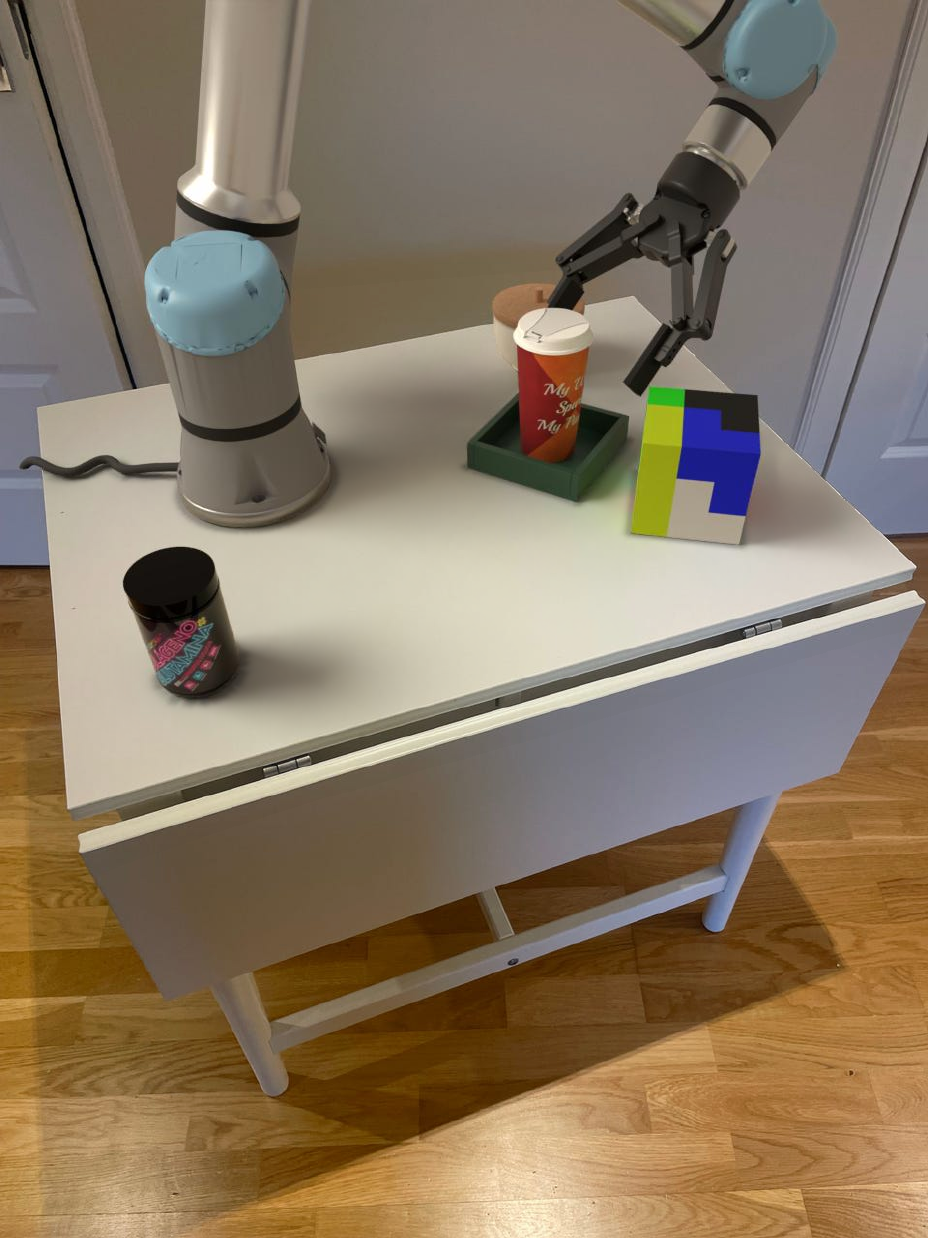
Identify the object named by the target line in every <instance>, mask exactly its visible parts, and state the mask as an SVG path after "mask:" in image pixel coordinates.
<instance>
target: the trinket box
mask: <svg viewBox="0 0 928 1238" xmlns="http://www.w3.org/2000/svg"><path fill="white" fill-rule="evenodd" d="M556 286H557V284H552V283H543V282H542V283H540V282H539V283H535V282H534V283H525V284H524V283H523V284H519V285H515V286H510V287H508V288H506V289H504V290H501V291H500V292H499V293H497V294H496V296H495V297H494V298H493V300H492V304H491V311H492V315H493V316H492V321H493V333H494V338H495V342H496V346H497V349H498V351H499V352H500V354H501V356H502V358H503V359H505V360H506V361H507V362H508V363H509V365H511V367H512V369H513V370H514V371H516V372H518V360H517V343H516V342H515V340H514V337H513V335H514V331H515V330H516V328H517V327H518V323H519V320H520V319H521V317H522V316H524V315H525V314H527V313H529V312H531V311H534V310H537V309H543V308H547V307H548V306H549V304H548V303H547V302H548V299H549V297H550V295H551V294H552V292H553V291H554V289H555V287H556ZM585 308H586V304H585V300H584V298H583V296H582V297H581V298H580V300H579V301H578V303H577V304H576V306H575V307H574V309H573V310H572V311H575V312H577V313H580V314H582V315H583V316H584V315H585Z"/></svg>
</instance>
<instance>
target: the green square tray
mask: <svg viewBox="0 0 928 1238" xmlns="http://www.w3.org/2000/svg"><path fill="white" fill-rule="evenodd" d="M629 423H630V415H627V414H624V413H620V412H616V411H612V410H608V409H606V408H602V407H597V406H594V405H590V404H586V403H583V402H581V408H580V415H579V422H578V429H577V435H576V441H575V447H574V451H573V453H572V455H571V456H570V457H569V458H567V459H565V460H563V461H560V462H555V463H549V462H545V461H542V460H539V459H535V458H532V457H529V456H526V455H525V454H524V453H523V451H522V446H521V432H520V411H519V391H518V393H516V394H515V395H514V396H513V397H512V398H511V399H510V400H509V401H508V402H507V403H506V404H505V405H504V406H503V407H502V408H500V410H499V411H497V413H496V414H494V415H493V417H491V419H490V420H489V421H488V422H486V423H485V424H484V425H483V426H482V427H481V428H480V429H479V430H478V431H477V432H476V433H475V434H474V435H473V436H472V437H471V438H470V439H469V440H468V441H467V442H466V465H467V469H470V470H473V471H475V472H479V473H482V474H486V475H488V476H493V477H496V478H498V479H502V480H505V481H508V482H512V483H514V484H518V485H521V486H524V487H527V488H531V489H534V490H537V491H539V492H542V493H547V494H550V495H553V496H556V497H559V498H562V499H566V500H569V501H572V502H575V503H578V502H579V501H580V500H581V498H582V497H583V496H584V494H585V493H586V492H587V490H588V489H589V488H590V487H591V486H592V485H593V483H594V482H595V481H596V479H598V477H599V476H600V474H601V473H602V472H603V471H604V470H605V468H607V466H608V464H610V462H611V461H612V460H613V458H614V457H615V456H616V455H617V453H618V452H619V451H620V450H621V448H622V447H623V446H624V445H625V444H626V442H627V439H628V432H629Z"/></svg>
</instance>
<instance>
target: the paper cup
mask: <svg viewBox="0 0 928 1238" xmlns="http://www.w3.org/2000/svg"><path fill="white" fill-rule="evenodd" d="M588 320H589V319H587V318H586V316H584V315H582V314H580V313H577V312H575V311H572V310H568V309H562V308H543V309H537V310H534V311H531V312H529V313H527V314H525V315H524V316H522V317H521V319H520V320H519V323H518V327H517V328H516V330H515V331H514V335H513V337H514V340H515V342H516V343H517V360H518V371H517V381H518V382H517V384H518V392H519V411H520V432H521V446H522V451H523V453H524V454H525V455H526V456H529V457H532V458H535V459H539V460H542V461H545V462H549V463H555V462H560V461H563V460H565V459H567V458H569V457H570V456H571V455H572V453H573V451H574V447H575V441H576V435H577V429H578V422H579V415H580V408H581V403H582V400H583V393H584V386H585V378H586V371H587V366H588V365H587V364H588V358H589V351H590V346H591V344H592V343H593V341H594V337H595V336H594V333H593V331H592V329H591V325H590V322H589V321H588Z"/></svg>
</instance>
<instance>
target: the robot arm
mask: <svg viewBox="0 0 928 1238" xmlns="http://www.w3.org/2000/svg"><path fill="white" fill-rule="evenodd" d="M612 1H613V2H615V3H616V4H618V5H619V6H620V7H622V8H623V9H625V10H626V11H628V12H629V13H630V14H632V15H633V16H635V17H636V18H638V19H639V20H640V21H642V22H643V23H645V24H646V25H648V26H649V27H651V28H652V29H654V30H655V31H657V32H658V33H659V34H661V35H662V36H664V37H665V38H666V39H668V40H669V41H671V42H672V43H673V44H675V45H677V46H678V47H679V48H681V49H682V50H683V51H684V52H686V54H688V56H690V57H691V59H692V60H693V61H694V62H695V63H696V64H697V65H698V66H699V67H700V68H701V70H703V72H704V73H705V75H706V76H707V78H709V80H711V81H712V82H713V83H714V84H715V85H716V86H717V90H716V92H715V93H714V95H713V97H712V99H711V100H710V101H709V103H708V105H707V106H706V108H705V110H704V111H703V113H702V114H701V116H700V117H699V119H698V121H697V122H696V124H695V125H694V126H693V128H692V129H691V131H690V132H689V134H688V135H687V137H686V138H685V139H684V141H683V143H682V144H681V150H682V151H681V152H678V153H676V154H675V155H674V157H673V158H672V160H671V161H670V163H669V165H668V166H667V168H666V169H665V171H664V172H663V174H662V175H661V177H660V179H659V180H658V182H657V184H656V190H655V194H654V196H653V198H652V199H651V200H650V201H649V202H648V203H646V204H643V203H642V202H640V201H638V199H637V198H636V197H635V196H634V195H633V193H631V192H627V193H625V194H624V195H623V196H622V198H620V200H619V201H618V203H616V205H615V207H614V208H613V209H612V210H611V211H610V212H609V213H607V214H606V215H605V216H604V217H603V218H601V219H600V220H599V221H597V222H596V223H595V224H594V225H593V226H592V227H590V228H589V229H588V230H587V231H585V232H584V233H583V234H582V235H581V236H579V237H578V238H577V239H576V240H574V241H573V242H572V243H571V244H569V245H568V246H567V247H566V248H565V249H563V250H562V251H561V252H560V253H558V254H557V256H555V260H554V261H555V263H556V265H557V266H558V267H559V269H560V270H561V272H562V276H561V279H560V280H559V281H558V283H557V284H556V285H557V286H556V287H555V289H554V291H553V292H552V294H551V295H550V297H549V299H548V302H547V303H548V304H549V306H548V307H547V308H562V309H568V310H573V309H574V307H575V306H576V304H577V303H578V301H579V300H580V298H581V297H582V298H583V295H584V294H585V289H584V284H587V283H589V282H591V281H592V280H594V279H596V278H598V277H600V276H602V275H604V274H605V273H607V272H610V271H612V270H614V269H615V268H617V267H619V266H621V265H623V264H624V263H626V262H629V261H630V260H632V259H636V260H638V259H641V258H643V257H645V259H648V260H650V261H653V262H660V263H661V264H662V265H663V266H664V267H666V268H668V269H670V286H671V291H670V292H671V320H670V319H669V320H668V323H669V324H670V325H671V326H672V327H671V326H670V325H669V324H666V323H664V322H663V323H662V324H661V325H660V327H659V328H658V330H657V331H656V332H655V335H654V336H653V337H652V339H650V341H649V343H648V345H647V346H646V347H645V349H644V350H643V352H642V353H641V355H640V356H639V358H638V359H637V361H636V362H635V363H634V365H633V367H632V368H631V369H630V371H629V373H628V374H627V375H626V377H625V378H624V380H623V381H622V383H623V384H624V385H625V386H626V387H627V388H629V390H631V391H632V393H634V394H635V395H636V396H639V398H640V397H642V395H643V394H644V393H645V391H646V390H647V388H649V385H650V384H651V383H652V381H653V379H654V378H655V376H656V375H657V373H658V372H659V370H660V369H661V368H662V367H663V368H664V369H665V368H667V367H669V365H671V364H672V363H673V361H674V359H675V358H676V356H677V355H678V353H679V352H680V350H681V349H682V348H683V346H684V344H686V342H687V341H688V340H691V339H701V341H703V342H707V341H709V340H710V339H711V338H712V337H713V333H714V330H715V325H716V320H717V315H718V311H719V305H720V301H721V297H722V293H723V287H724V282H725V278H726V275H727V274H726V272H727V270H728V269H727V268H728V266H729V264H730V262H731V260H732V259H733V256H734V255H735V253H736V251H737V249H738V245H737V243H736V241H735V240H734V238H733V236H732V235H731V234H730V232H729V231H728V229H726V228H722V229H719V228H721V227H722V226H723V225H724V223H725V222H726V220H727V219H728V217H729V216H730V214H731V213H732V212H733V210H734V208H735V207H736V205H737V204H738V202H739V201H740V199H741V192H743V191H745V190H747V189H748V188H749V186H750V184H751V183H752V181H753V179H754V178H755V177H756V175H757V174H758V172H759V171H760V169H761V168H762V166H763V165H764V163H765V162H766V160H767V159H768V157H769V156H770V154H771V153H772V151H773V150H774V149H775V146H777V145H778V142H780V140H781V139H782V137H783V135H784V134H785V132H786V131H787V129H788V128H789V127H790V126H791V124H792V122H793V121H794V120H795V118H796V117H797V115H798V114H799V112H800V111H801V109H802V108H803V107H804V105H805V103H806V102H807V100H808V99H809V98H810V96H812V95H813V94H814V93H815V91H816V90H817V88H818V85H819V83H820V81H821V80H822V78H823V77H824V75H825V74H826V72H827V70H828V69H829V67H830V64H831V63H832V61H833V59H834V57H835V56H836V53H837V50H838V47H839V36H838V31H837V29H836V26H835V24H834V22H833V21H832V19H831V18H830V17H829V15H827V13H826V11H825V9H824V6H823V5H822V3H821V1H820V0H612ZM311 9H312V0H205V9H204V10H205V11H204V26H203V27H204V28H203V41H202V54H201V55H202V56H201V57H202V58H201V71H200V72H201V74H200V88H199V89H200V90H199V103H198V119H197V120H198V121H197V132H196V133H197V134H196V150H195V164H194V166H192V167H191V169H189V170H187V171H186V172H185V173H183V174H182V175H180V177H178V179H177V186H176V201H175V203H176V204H175V217H174V218H175V221H174V236H173V240H172V241H171V243H170V246H163V247H161V248H160V249H159V250H158V251H157V252H156V253H155V254H154V255H153V256H152V258H151V259H150V260H149V262H148V264H147V266H146V269H145V271H144V281H143V282H144V290H145V302H146V303H145V304H146V309H147V313H148V315H149V318H150V322H151V323H152V325H153V327H154V331H155V335H156V338H157V342H158V346H159V350H160V353H161V357H162V360H163V361H162V362H163V364H164V368H165V371H166V375H167V378H168V379H167V380H168V383H169V386H170V390H171V393H172V398H173V401H174V405H175V408H176V412H177V415H178V418H179V423H180V427H181V430H180V431H181V432H180V440H179V441H180V443H179V457H180V459H179V462H149V463H139V464H124V463H121V461H119V459H117V458H116V457H115V456H113V455H110V454H102V455H97V456H94V457H91V458H89V459H88V460H86V461H85V462H82V463H81V464H78V465H76V466H71V467H64V466H59V465H57V464H54V463H52V462H50V461H49V460H47V459H44V458H43V457H39V456H36V455H31V456H27V457H25V459H23V460H22V461H21V462H20V464H19V466H18V468H19V469H20V470H28V469H30V468H32V466H36V467H39V468H40V469H42V470H45V471H46V472H48V473H50V474H53V475H55V476H58V477H65V478H71V477H77V476H81V475H83V474H85V473H87V472H89V471H91V470H93V469H94V468H96V467H99V466H102V465H109V466H110V467H111V468H112V469H113V470H115V471H116V472H118V473H120V474H124V475H138V474H147V473H165V472H166V473H168V472H169V473H170V472H171V473H174V472H177V473H176V475H177V476H176V483H177V487H178V491H179V495H180V498H181V500H182V503H183V505H184V506H185V508H186V509H187V510H188V511H189V512H190V513H191V514H193V516H195V517H197V518H198V519H200V520H203V521H204V522H206V523H207V522H208V523H211V524H214V525H218V526H223V527H231V528H251V527H253V528H254V527H261V526H267V525H272V524H275V523H279V522H282V521H286V520H288V519H291V518H293V517H295V516H297V515H299V514H301V513H303V512H305V511H307V510H308V509H309V508H311V507H313V506H314V505H315V504H316V503H317V502H318V501H319V500H321V499H322V497H323V496H324V495H325V493H326V492H327V490H328V489H329V486H330V483H331V478H332V477H331V475H332V472H331V466H330V460H329V455H328V453H327V451H326V448H325V446H326V447H328V445H327V437H326V433H325V432H324V431H323V430H322V429H321V428H320V427H319V426H318V425H317V424H316V423H315V422H314V421H311V420H310V419H309V417H308V416H307V414H306V412H305V410H304V408H303V405H302V399H301V393H300V387H299V380H298V373H297V367H296V362H295V355H294V349H293V341H292V333H291V332H292V331H291V304H292V303H291V299H292V297H291V293H292V277H293V270H294V263H295V262H294V261H295V254H296V247H297V240H298V234H299V227H300V218H301V211H302V208H301V203H300V201H299V200H298V199H297V197H296V196H295V194H294V193H293V191H292V190H291V188H290V187H289V180H290V171H291V165H292V157H293V148H294V142H295V141H294V140H295V133H296V127H297V125H296V124H297V118H298V111H299V102H300V95H301V87H302V78H303V72H304V63H305V55H306V47H307V41H308V32H309V24H310V18H311V17H310V16H311ZM716 230H718V231H717V232H716ZM703 250H705V252H706V253H705V256H704V260H703V264H702V269H701V274H700V275H701V276H700V277H699V283H698V288H697V293H696V298H695V302H694V277H693V276H694V275H695V255H696V254H699V253H700V252H702V251H703ZM323 444H324V445H323ZM43 468H44V469H43Z"/></svg>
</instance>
